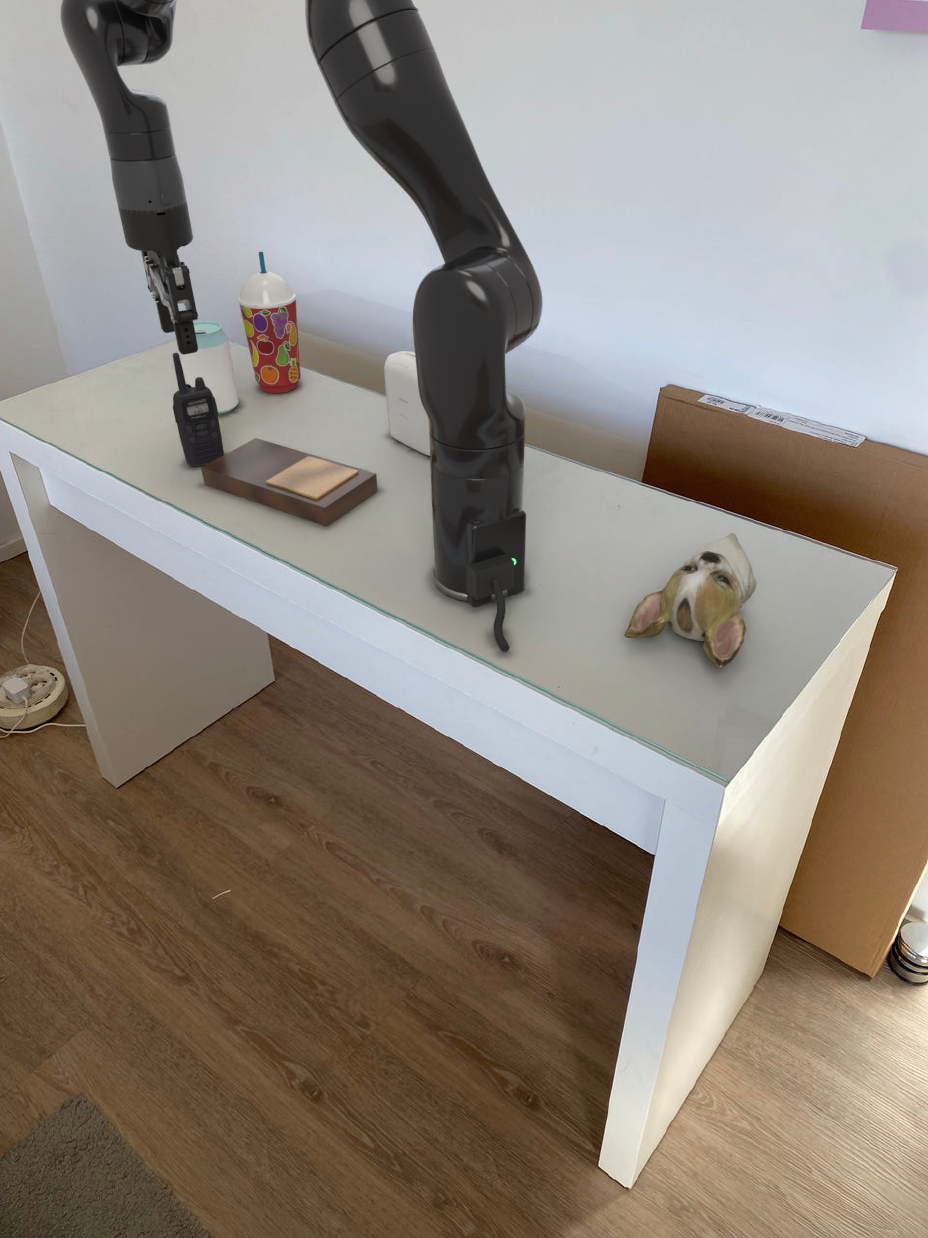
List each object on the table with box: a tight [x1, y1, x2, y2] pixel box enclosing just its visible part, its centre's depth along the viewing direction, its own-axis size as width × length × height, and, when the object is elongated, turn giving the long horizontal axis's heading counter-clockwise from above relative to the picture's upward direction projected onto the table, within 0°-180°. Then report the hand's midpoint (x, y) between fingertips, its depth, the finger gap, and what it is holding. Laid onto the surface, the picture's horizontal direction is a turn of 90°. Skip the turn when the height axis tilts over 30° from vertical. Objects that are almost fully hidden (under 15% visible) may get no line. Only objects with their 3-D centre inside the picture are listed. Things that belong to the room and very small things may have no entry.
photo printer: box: [383, 350, 430, 457], centre depth 121 cm, size 10×4×12 cm, turn 39°
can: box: [178, 320, 240, 416], centre depth 131 cm, size 7×7×12 cm
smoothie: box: [237, 251, 301, 394], centre depth 135 cm, size 8×8×20 cm
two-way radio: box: [172, 352, 225, 468], centre depth 117 cm, size 6×4×15 cm
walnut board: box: [200, 437, 379, 527], centre depth 114 cm, size 20×10×3 cm, turn 58°
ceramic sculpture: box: [624, 532, 757, 670], centre depth 87 cm, size 11×9×15 cm
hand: (180, 341), depth 112 cm, fingers open, 8 cm apart
